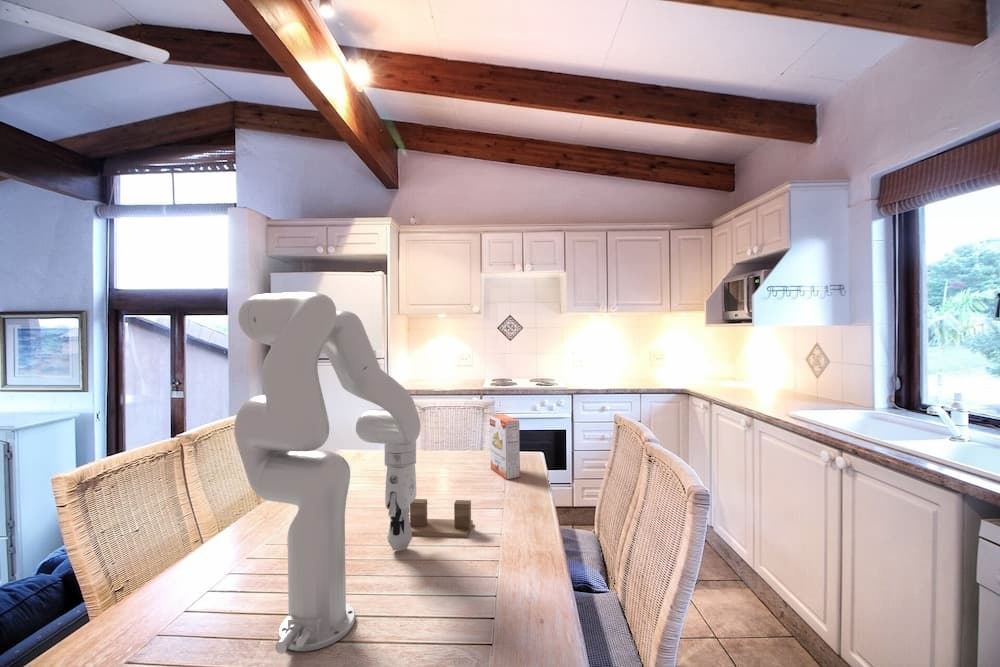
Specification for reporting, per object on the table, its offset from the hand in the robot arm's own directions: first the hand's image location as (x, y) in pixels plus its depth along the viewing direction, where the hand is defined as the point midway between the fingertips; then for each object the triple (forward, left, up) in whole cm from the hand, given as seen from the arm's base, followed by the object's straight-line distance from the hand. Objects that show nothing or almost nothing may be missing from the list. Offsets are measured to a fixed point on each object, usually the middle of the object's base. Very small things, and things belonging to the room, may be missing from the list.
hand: (400, 533), depth 106 cm
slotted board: (+12, -7, -4) cm, 15 cm away
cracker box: (+59, -20, -5) cm, 62 cm away
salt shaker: (0, 0, -4) cm, 4 cm away
